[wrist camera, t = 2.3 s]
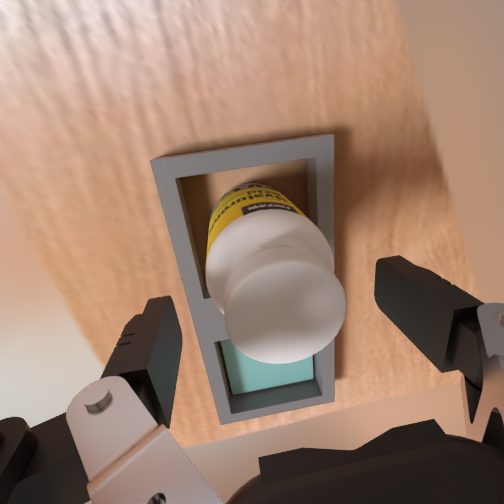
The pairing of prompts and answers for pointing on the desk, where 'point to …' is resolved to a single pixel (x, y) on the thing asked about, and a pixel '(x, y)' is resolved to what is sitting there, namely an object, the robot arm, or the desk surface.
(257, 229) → the supplement bottle
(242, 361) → the frame
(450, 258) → the desk surface
